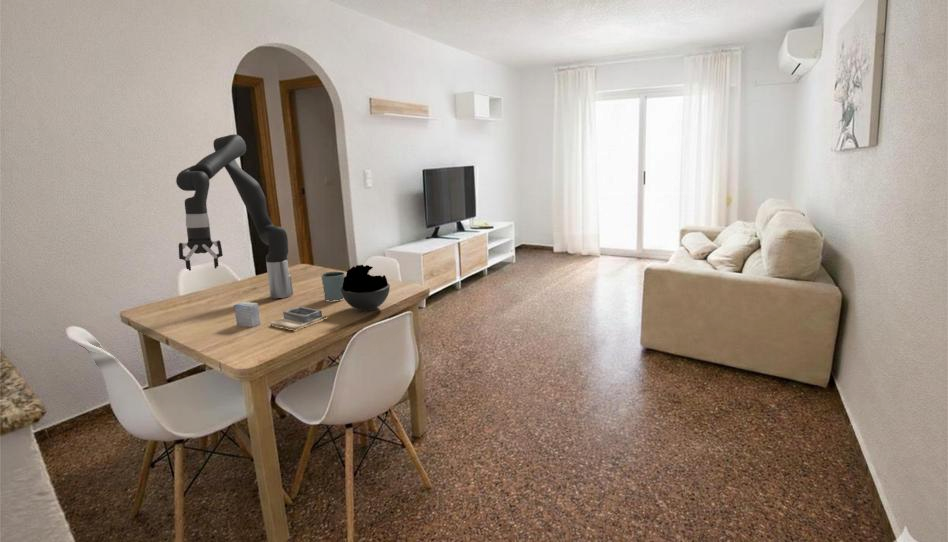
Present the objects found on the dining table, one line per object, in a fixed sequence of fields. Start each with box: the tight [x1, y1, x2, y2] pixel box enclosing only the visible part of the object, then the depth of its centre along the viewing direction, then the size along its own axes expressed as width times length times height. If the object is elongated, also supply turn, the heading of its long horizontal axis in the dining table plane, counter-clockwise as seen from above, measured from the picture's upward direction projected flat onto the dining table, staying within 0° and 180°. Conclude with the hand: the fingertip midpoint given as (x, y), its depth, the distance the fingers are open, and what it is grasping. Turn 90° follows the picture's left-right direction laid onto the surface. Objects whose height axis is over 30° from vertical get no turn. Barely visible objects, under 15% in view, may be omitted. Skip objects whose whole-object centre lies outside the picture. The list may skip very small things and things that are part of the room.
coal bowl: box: [341, 264, 391, 311], centre depth 208 cm, size 20×20×19 cm
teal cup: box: [321, 271, 346, 301], centre depth 224 cm, size 10×10×12 cm
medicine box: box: [233, 301, 262, 328], centre depth 193 cm, size 8×4×9 cm, turn 71°
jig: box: [269, 306, 328, 330], centre depth 194 cm, size 16×14×4 cm
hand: (202, 269), depth 186 cm, fingers open, 8 cm apart
